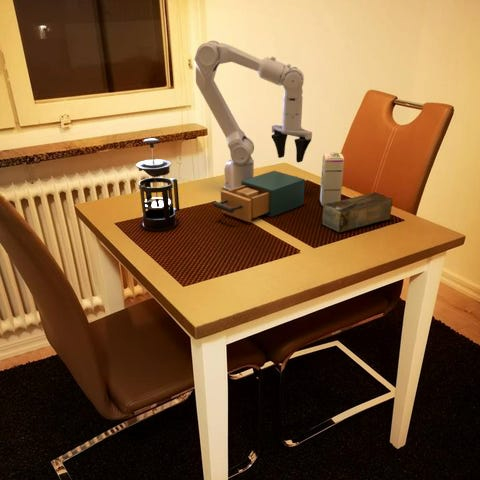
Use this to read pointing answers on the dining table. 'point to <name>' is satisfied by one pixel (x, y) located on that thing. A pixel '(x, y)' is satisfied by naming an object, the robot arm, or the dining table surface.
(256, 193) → the block
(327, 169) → the syrup box
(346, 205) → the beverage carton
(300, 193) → the cabinet
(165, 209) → the french press
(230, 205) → the drawer
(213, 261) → the dining table surface
